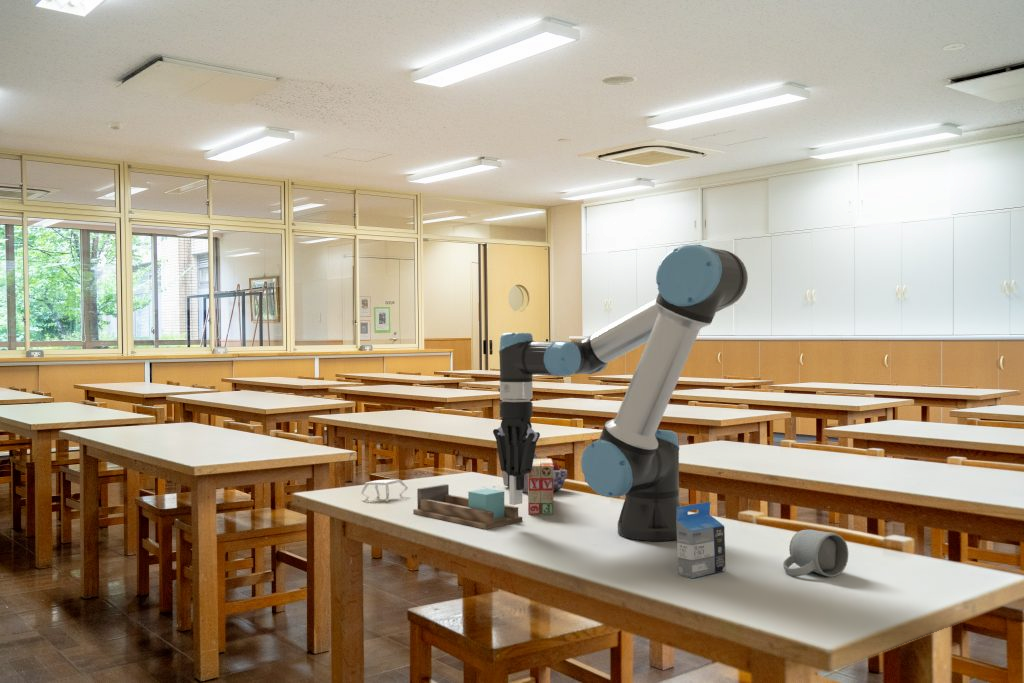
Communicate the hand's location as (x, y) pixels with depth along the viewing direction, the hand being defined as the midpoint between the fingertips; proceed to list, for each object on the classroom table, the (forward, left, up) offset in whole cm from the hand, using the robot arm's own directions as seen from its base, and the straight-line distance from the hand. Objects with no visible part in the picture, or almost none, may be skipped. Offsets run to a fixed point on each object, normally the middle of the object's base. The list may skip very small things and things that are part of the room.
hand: (515, 503), depth 193 cm
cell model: (+32, -39, -6) cm, 51 cm away
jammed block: (+10, 0, -4) cm, 11 cm away
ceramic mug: (-66, -10, -6) cm, 67 cm away
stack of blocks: (+13, -23, -6) cm, 27 cm away
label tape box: (-51, +4, -6) cm, 52 cm away
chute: (+17, 0, -6) cm, 18 cm away
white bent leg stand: (+51, -2, -6) cm, 52 cm away
